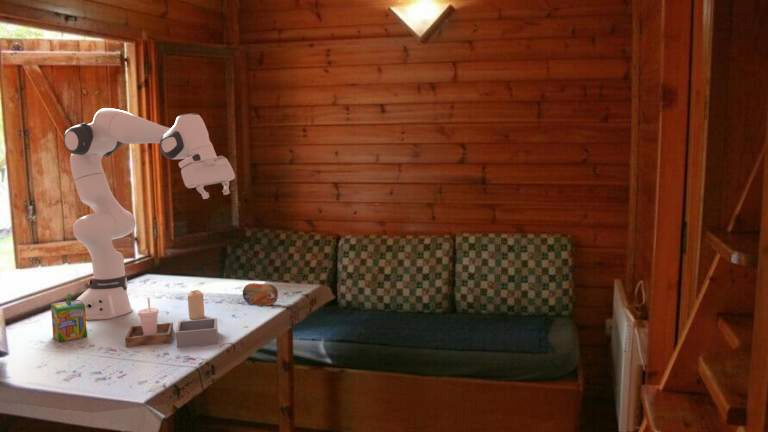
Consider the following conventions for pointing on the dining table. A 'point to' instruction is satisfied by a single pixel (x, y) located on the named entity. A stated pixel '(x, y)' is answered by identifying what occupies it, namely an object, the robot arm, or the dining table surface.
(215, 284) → the dining table surface
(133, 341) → the frame
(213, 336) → the bin
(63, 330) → the chalk box
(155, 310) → the smoothie
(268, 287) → the tin
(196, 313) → the candle
